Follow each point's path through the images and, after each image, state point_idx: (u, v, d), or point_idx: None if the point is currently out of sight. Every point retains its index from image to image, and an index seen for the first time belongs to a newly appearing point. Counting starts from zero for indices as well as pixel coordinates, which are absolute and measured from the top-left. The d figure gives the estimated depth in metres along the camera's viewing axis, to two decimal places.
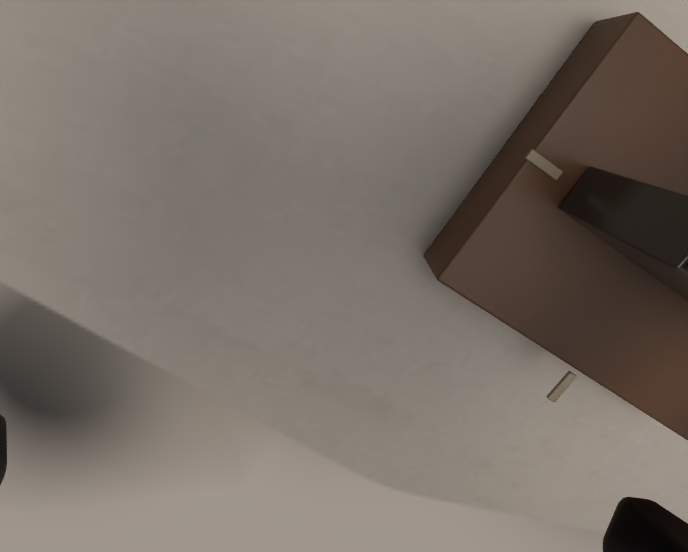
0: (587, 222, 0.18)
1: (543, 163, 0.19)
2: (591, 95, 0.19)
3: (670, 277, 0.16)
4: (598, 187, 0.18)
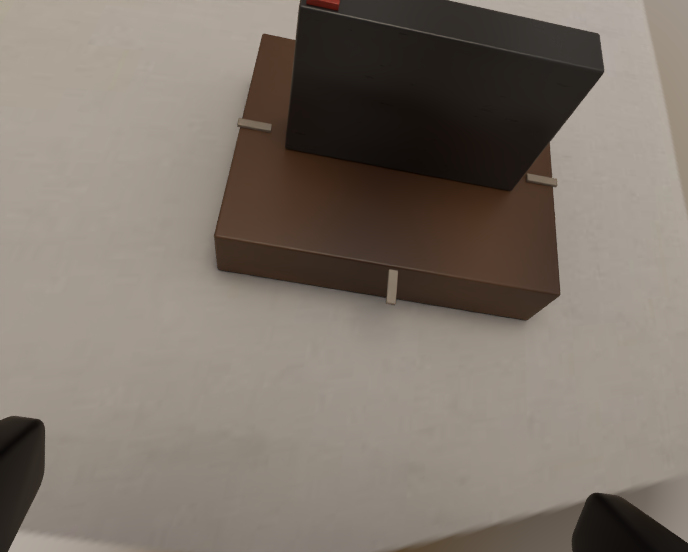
0: (289, 110, 0.21)
1: (252, 123, 0.23)
2: (262, 79, 0.25)
3: (351, 83, 0.19)
4: None
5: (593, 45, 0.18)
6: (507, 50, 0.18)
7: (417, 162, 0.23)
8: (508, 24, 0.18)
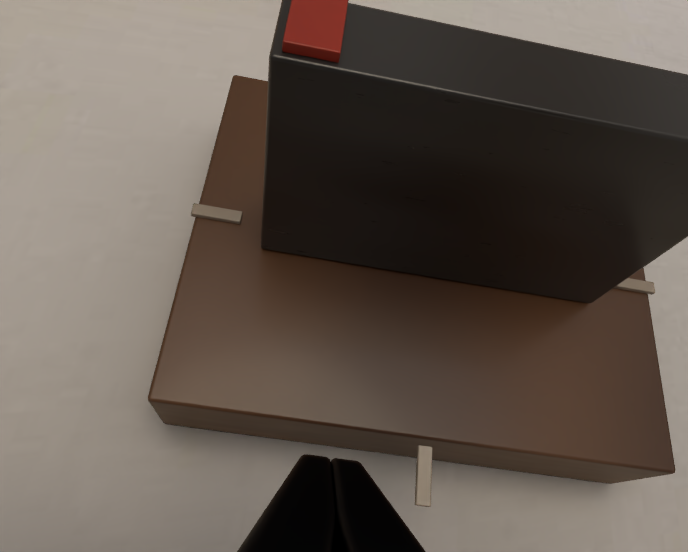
0: (263, 204, 0.14)
1: (214, 211, 0.16)
2: (231, 142, 0.17)
3: (361, 171, 0.12)
4: None
5: None
6: (632, 127, 0.10)
7: (456, 269, 0.15)
8: (627, 79, 0.11)
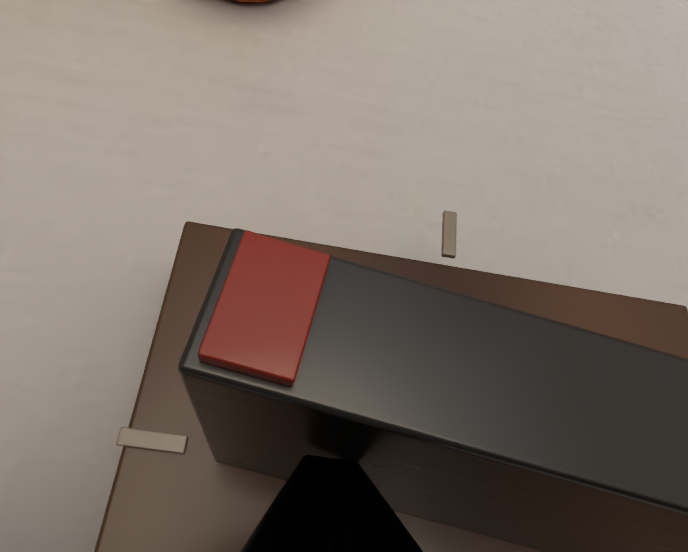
0: (208, 442, 0.10)
1: (148, 438, 0.12)
2: (177, 324, 0.13)
3: None
4: None
5: None
6: None
7: (472, 527, 0.11)
8: None
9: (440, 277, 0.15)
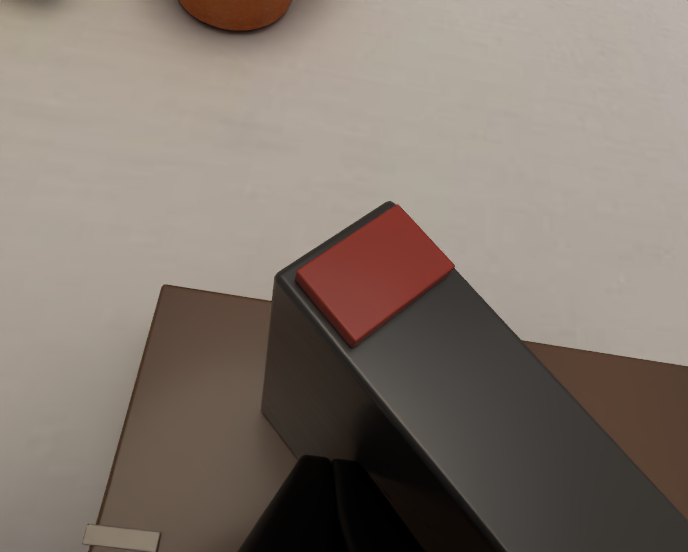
0: (264, 382, 0.10)
1: (117, 536, 0.11)
2: (152, 401, 0.12)
3: None
4: None
5: None
6: None
7: None
8: None
9: None
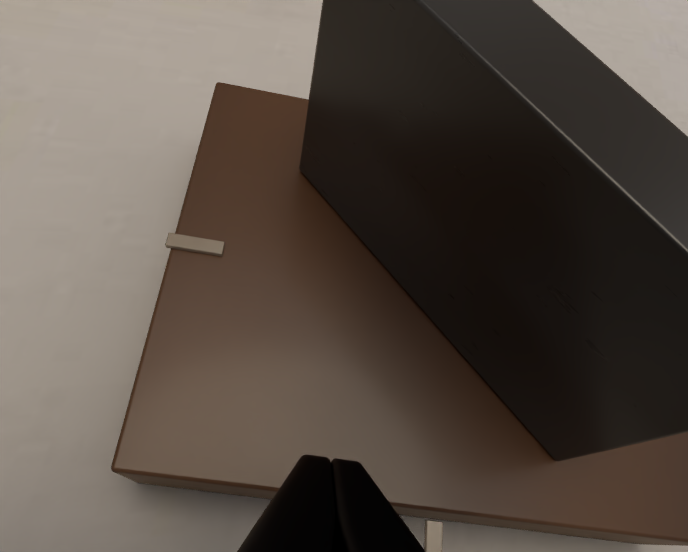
0: (307, 112, 0.13)
1: (192, 242, 0.14)
2: (212, 160, 0.15)
3: (380, 114, 0.11)
4: None
5: None
6: (639, 205, 0.08)
7: (439, 309, 0.13)
8: None
9: None
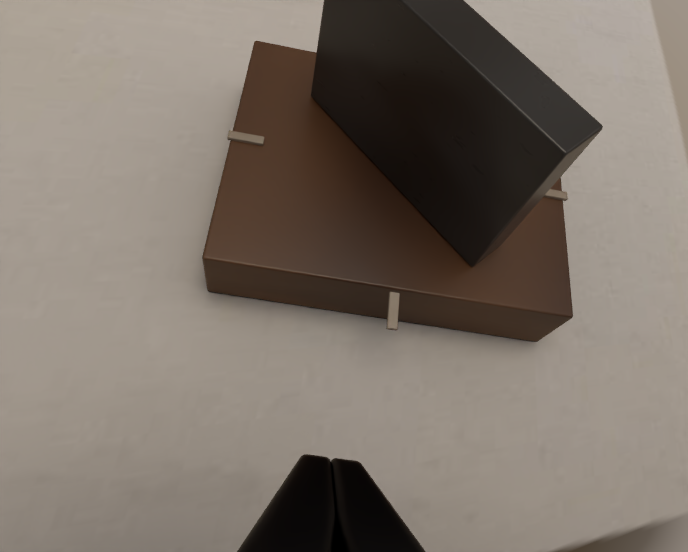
0: None
1: (244, 136, 0.22)
2: (254, 88, 0.23)
3: (360, 45, 0.19)
4: None
5: (582, 128, 0.15)
6: (481, 73, 0.16)
7: (399, 175, 0.21)
8: (510, 58, 0.16)
9: None
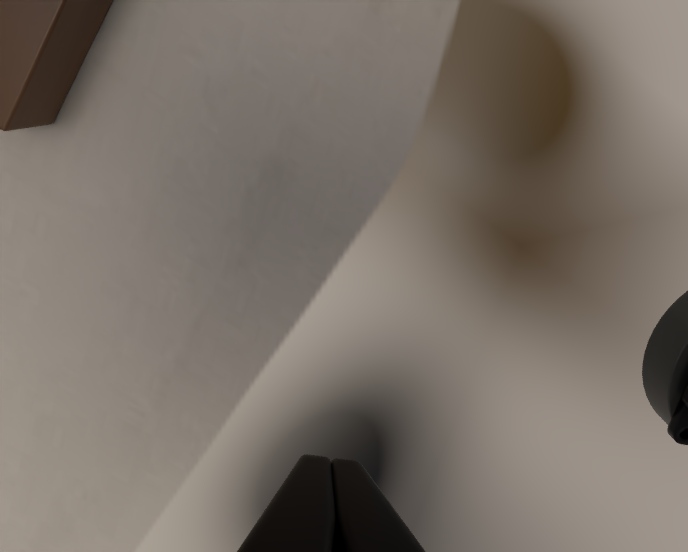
0: None
1: None
2: None
3: None
4: None
5: None
6: None
7: None
8: None
9: None
